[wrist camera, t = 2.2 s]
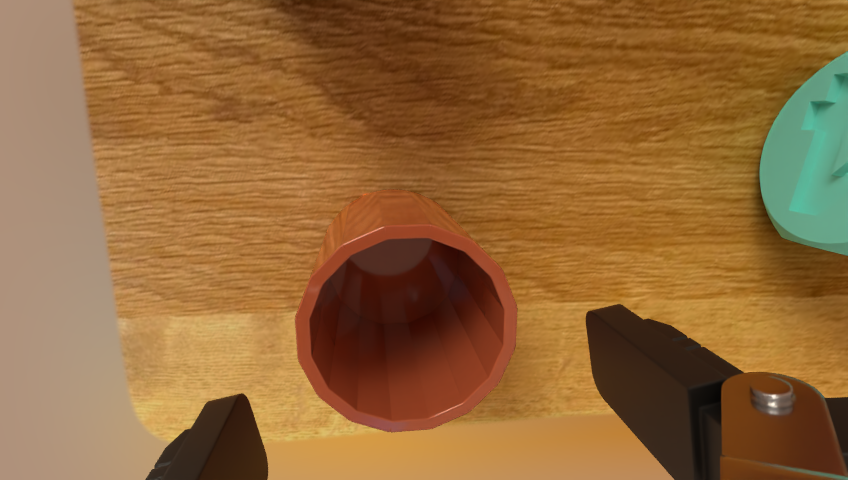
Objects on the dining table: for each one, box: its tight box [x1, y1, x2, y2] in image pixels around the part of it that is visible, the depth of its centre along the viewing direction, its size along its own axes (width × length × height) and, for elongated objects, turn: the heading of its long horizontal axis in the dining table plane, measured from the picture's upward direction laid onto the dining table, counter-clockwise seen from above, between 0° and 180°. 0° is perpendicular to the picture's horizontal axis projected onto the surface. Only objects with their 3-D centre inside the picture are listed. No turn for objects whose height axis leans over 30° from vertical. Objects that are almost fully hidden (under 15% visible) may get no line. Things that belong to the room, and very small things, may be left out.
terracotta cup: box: [295, 189, 517, 432], centre depth 18 cm, size 6×6×8 cm
